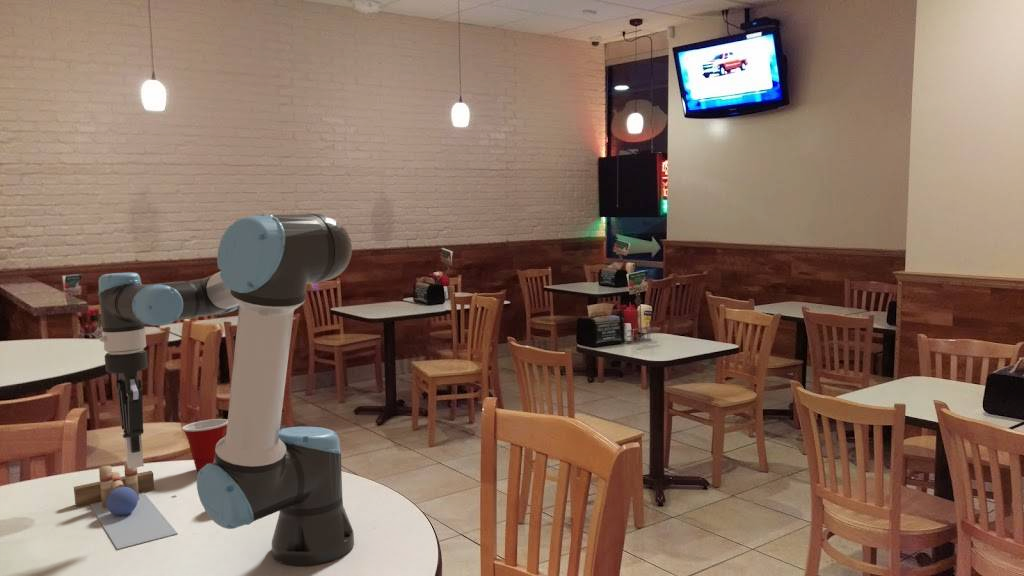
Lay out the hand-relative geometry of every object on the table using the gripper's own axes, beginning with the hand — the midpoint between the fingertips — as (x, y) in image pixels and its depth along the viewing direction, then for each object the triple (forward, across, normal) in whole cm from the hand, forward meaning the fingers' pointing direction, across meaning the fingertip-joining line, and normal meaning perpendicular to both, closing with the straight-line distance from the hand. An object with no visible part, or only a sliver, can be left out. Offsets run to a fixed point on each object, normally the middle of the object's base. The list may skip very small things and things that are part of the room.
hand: (135, 466), depth 157 cm
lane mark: (+13, -8, 0) cm, 16 cm away
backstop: (+13, -24, 0) cm, 28 cm away
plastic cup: (+13, -30, +22) cm, 39 cm away
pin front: (+12, -15, 0) cm, 20 cm away
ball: (+10, -12, -1) cm, 16 cm away
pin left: (+13, -19, -3) cm, 23 cm away
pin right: (+13, -19, +2) cm, 23 cm away
